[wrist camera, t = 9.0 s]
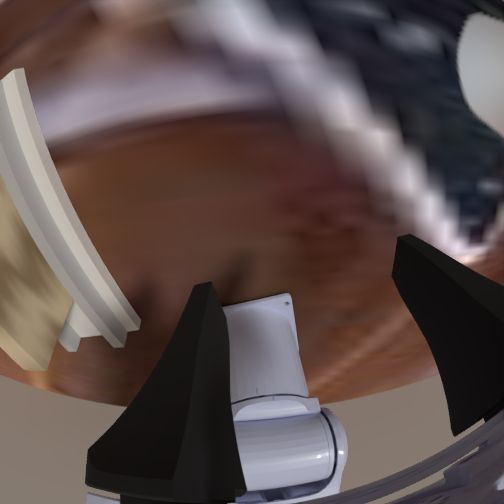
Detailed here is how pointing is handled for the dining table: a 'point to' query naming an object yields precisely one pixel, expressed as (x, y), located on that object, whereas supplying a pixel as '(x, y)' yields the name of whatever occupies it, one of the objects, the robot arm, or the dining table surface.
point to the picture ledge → (57, 224)
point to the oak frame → (27, 293)
